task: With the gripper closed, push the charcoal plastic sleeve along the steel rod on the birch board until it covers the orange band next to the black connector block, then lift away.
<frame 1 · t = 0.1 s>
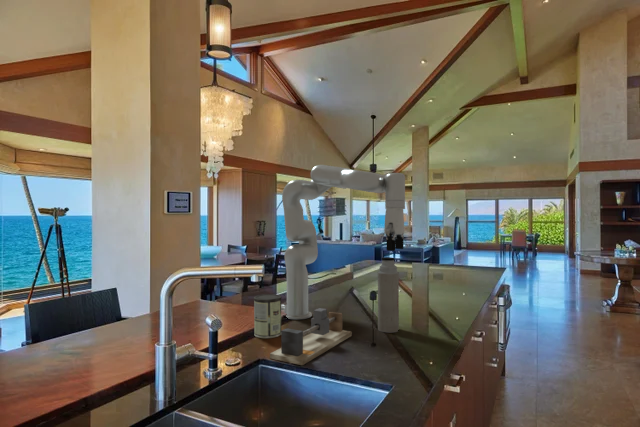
hand: (395, 249, 154), 31 cm above the worktop, tool pointing down, fingers open, 9 cm apart
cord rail: (314, 345, 136), on the worktop
sleeve: (320, 321, 140), point 7 cm above the worktop, slide at 0.0 cm
thermos bottle: (388, 330, 155), on the worktop
coffee can: (267, 334, 150), on the worktop
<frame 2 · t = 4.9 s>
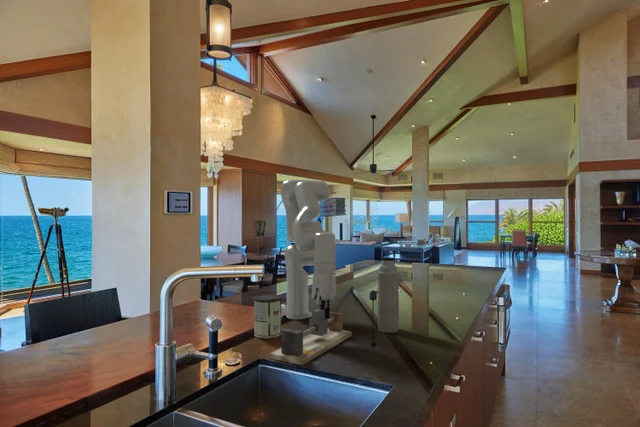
hand: (324, 318, 142), 8 cm above the worktop, tool pointing down, fingers closed
sleeve: (318, 322, 139), point 7 cm above the worktop, slide at 1.2 cm, touching gripper
everything else where it was.
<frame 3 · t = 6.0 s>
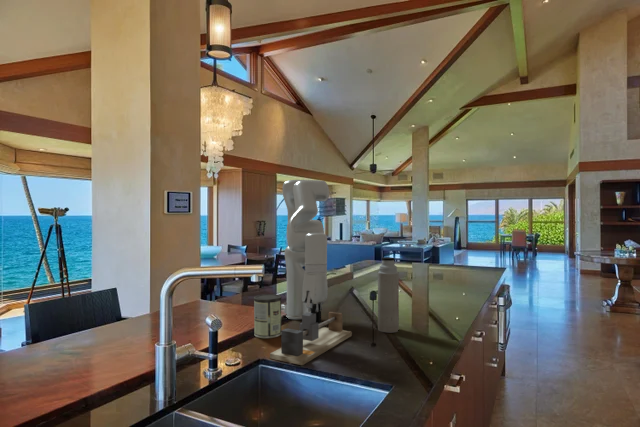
hand: (316, 322, 137), 8 cm above the worktop, tool pointing down, fingers closed
sleeve: (309, 326, 133), point 7 cm above the worktop, slide at 7.5 cm, touching gripper
everything else where it was.
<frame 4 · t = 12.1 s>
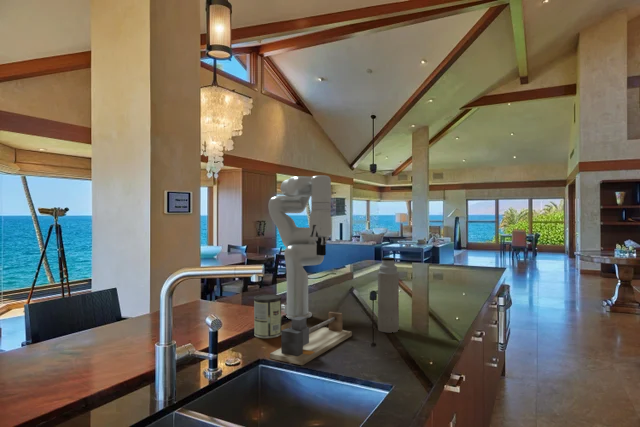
hand: (321, 255, 154), 29 cm above the worktop, tool pointing down, fingers closed
sleeve: (299, 330, 128), point 7 cm above the worktop, slide at 13.5 cm
everything else where it was.
at the end: sleeve slide at 13.5 cm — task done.
